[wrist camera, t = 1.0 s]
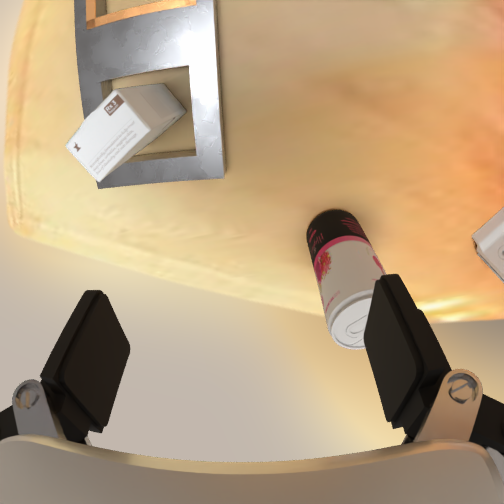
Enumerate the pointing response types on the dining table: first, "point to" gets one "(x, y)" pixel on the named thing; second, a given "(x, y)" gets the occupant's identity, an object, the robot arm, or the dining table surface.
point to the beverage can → (344, 274)
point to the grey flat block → (152, 59)
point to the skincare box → (123, 127)
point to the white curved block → (492, 243)
